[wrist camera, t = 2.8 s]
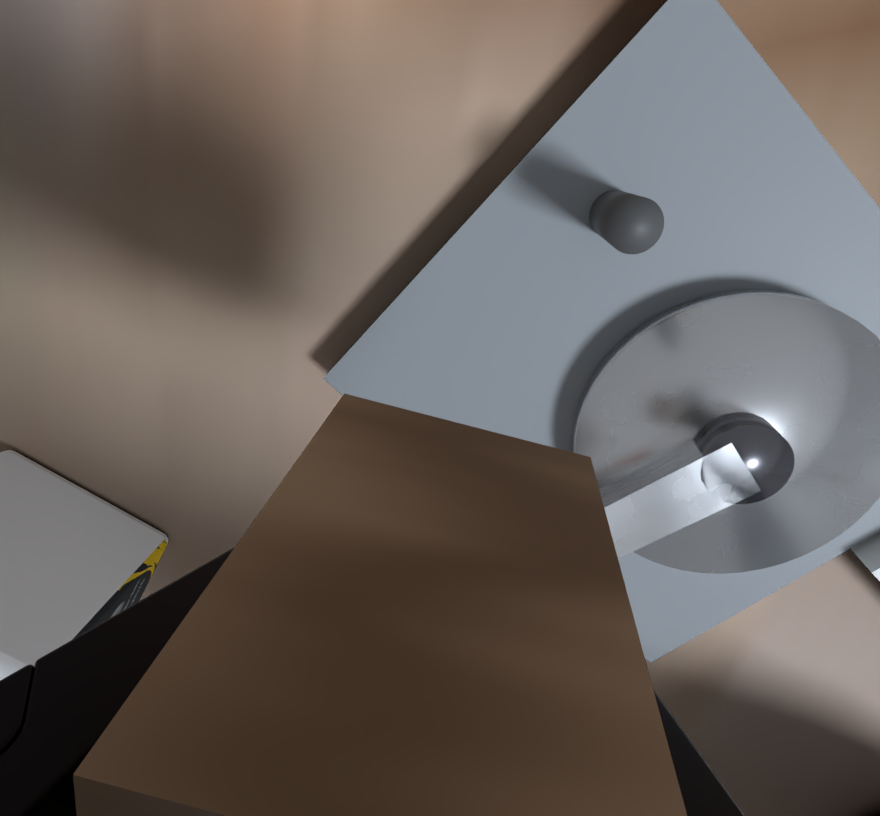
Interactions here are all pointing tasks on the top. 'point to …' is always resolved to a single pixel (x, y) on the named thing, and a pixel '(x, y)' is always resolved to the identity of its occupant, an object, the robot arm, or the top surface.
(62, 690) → the robot arm
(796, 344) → the crank
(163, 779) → the block
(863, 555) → the tray
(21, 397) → the top surface
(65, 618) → the medicine bottle
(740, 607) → the crank plate
